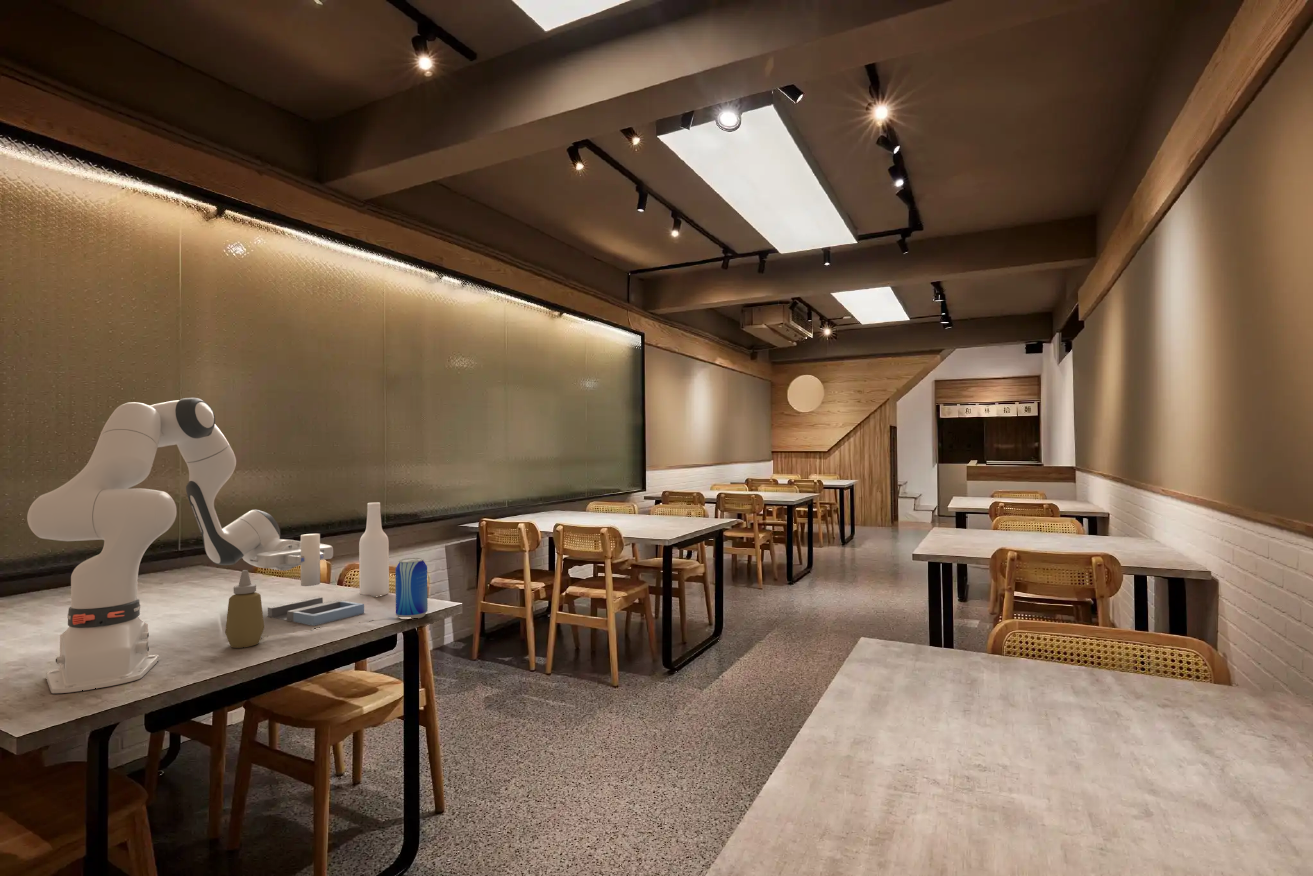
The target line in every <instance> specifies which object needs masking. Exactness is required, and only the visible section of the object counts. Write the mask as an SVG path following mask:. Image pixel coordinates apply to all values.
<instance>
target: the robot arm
mask: <svg viewBox="0 0 1313 876" xmlns="http://www.w3.org/2000/svg"><path fill="white" fill-rule="evenodd" d="M175 445H176V446H177V449H178V451H179V453H180V455H181V456H182V458H183V460H184V461H185V463H186V466H187V469H188V477H189V478H188V483H186V486H185V491H186V496H187V499H188V501H189V502H188V503H189V506H190V508H191V511H192V514H193V516H194V518H195V519H194V520H195V522H196V524H197V527H198V529H199V532H200V534H201V539H202V542H203V548H204V552H205V553H206V556H207V557H208V558H209V560H210V561H211V562H212V563H214V564H216V565H220V566H231V565H235V564H236V563H238V561H240V560H241V559H243V561H244V562H246V563H247V564H249V565H251V566H254V567H256V568H262V569H271V570H275V571H291V570H292V569H293V568H296V567H299V566H301V563H302V562H304V556H301V540H294V539H283V538H281V529H280V527H279V524H278V522H277V520H276V519H275V517H273V515H271V514H270V513H268V512H266V511H262V510H260V509H250V510H249V511H247V512H246V513H244V514H243V515H240V516H239V517H238V518H237V519H235V520H233V521H232V522H230V523H229V524H227V525H226V526H224V527H222V525H221V522H220V520H219V517H218V515H217V511H216V509H215V499H216V497H217V495H218V493H219V492H220V490H221V489H222V488H223V486H224V485H225V484H226V483H227V482H228V480H229V479H231V477H232V475H233V473H234V472H235V469H236V465H237V458H236V455H235V453H234V450H233V448H232V446H231V445H230V443H229V441H228V440H227V438H226V437H225V435H224V434H223V432H222V431H221V429H220V428H219V427H218V426H217V425H216V416H215V412H214V410H213V408H212V407H211V406H210V405H209V404H208V403H207V402H206V401H204V400H202V399H201V398H199V397H185V398H184V397H183V398H180V400H179V399H178V400H170V401H166V402H158V403H155V404H151V405H149V404H146V403H143V402H135V401H133V402H126V403H123V404H120V405H119V406H117V407H116V408H115V409H114V411H113V412H112V413H111V415H110V416H109V418H108V419H107V421H106V422H105V424H104V426H103V428H102V430H101V432H100V435H99V437H98V440H97V442H96V445H95V448H94V450H93V451H92V454H91V456H90V458H89V461H88V462H87V464H86V465H85V466H84V467H83V468H82V469H81V471H79V472H78V473H77V474H76V475H75V476H73V478H71V479H70V480H68V481H67V482H65V483H64V484H62V485H60V486H59V487H58V488H55V489H53V490H51V491H49V492H46V493H43V494H40V495H39V496H38V497H37V498H36V499H35V500H34V501H33V502H32V503H31V505H30V506H29V509H28V511H27V514H26V515H27V516H26V518H27V519H26V520H27V525H28V527H29V529H30V530H31V532H32V533H33V534H34V535H35V536H36V537H38V538H39V539H42V540H51V541H52V540H53V541H61V542H75V541H76V542H79V541H98V540H102V541H103V548H102V550H101V552H100V553H99V554H97V555H93V556H92V557H90V558H87V559H86V560H83V561H82V562H81V563H79V564H78V565H77V566H75V568H74V569H73V571H72V573H71V576H70V607H68V613H67V626H68V628H67V629H66V630H65V631H63V632H62V633H61V634H60V635H59V656H57V657H56V658H55V663H56V665H58V664H59V668H55V669H52V670H49V671H46V673H45V679H47V680H46V682H47V685H48V687H49V690H50V692H51V694H64V693H74V692H82V690H83V691H89V690H94V689H95V688H96V689H100V688H106V687H112V686H117V685H122V684H126V683H129V682H134V681H137V680H140V679H142V678H143V677H144V676H145V675H146V674H147V673H148V672H149V671H150V670H151V669H152V668H153V667H154V666H155V664H157V663H158V662H159V660H160V656H159V654H150V651H149V650H150V645H149V637H150V636H149V635H150V633H149V624H148V623H147V622H146V621H144V620H142V619H141V618H140V614H141V604H140V599H139V598H138V581H139V580H138V578H139V572H140V571H139V568H140V564H141V562H142V558H143V557H144V554H145V552H146V551H147V549H148V548H149V547H150V545H151V544H153V542H154V541H156V539H158V538H159V537H160V536H161V535H163V534H165V533H166V532H167V531H169V529H170V528H171V527H172V526H173V525H174V523H175V521H176V518H177V514H178V513H177V511H178V510H177V509H178V508H177V505H176V502H175V500H174V499H173V498H172V496H171V495H170V494H169V493H167V492H166V491H163V490H156V489H152V488H150V489H149V488H140V487H137V488H136V487H135V486H137V485H138V484H140V483H142V482H143V481H145V480H146V479H147V478H148V476H149V475H150V473H151V470H152V468H153V465H154V461H155V457H156V454H157V451H158V448H163V447H168V446H169V447H170V446H175ZM132 487H135V488H132ZM333 557H334V548H333V546H332V545H331V544H326V543H325V544H324V543H320V561H322V560H330V559H332V558H333ZM157 661H158V662H157Z"/></svg>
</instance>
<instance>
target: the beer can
mask: <svg viewBox="0 0 1313 876" xmlns="http://www.w3.org/2000/svg"><path fill="white" fill-rule="evenodd" d="M394 571H395V572H394V573H395V615H396V616H397V617H411V618H418V619H422V618H424V617H425V616H426V614H427V612H428V610H429V609H428V608H429V607H428V565H427V564H426V562H425V559H424V557H408V558H406V557H405V558H402V559H399V560H398V564H397V565H396V567H395V570H394Z"/></svg>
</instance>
